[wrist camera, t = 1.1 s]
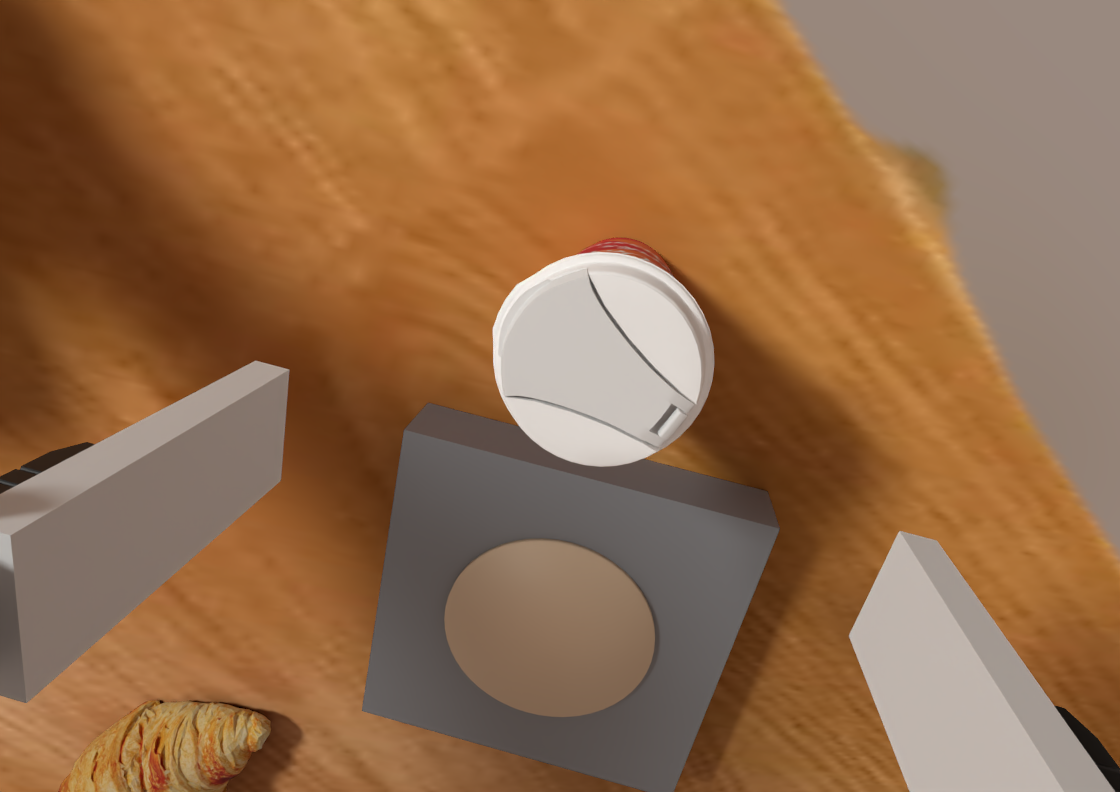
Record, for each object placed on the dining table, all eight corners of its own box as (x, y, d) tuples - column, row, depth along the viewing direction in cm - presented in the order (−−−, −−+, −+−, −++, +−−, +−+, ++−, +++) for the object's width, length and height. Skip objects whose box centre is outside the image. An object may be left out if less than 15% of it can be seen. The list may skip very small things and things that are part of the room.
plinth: (385, 665, 46) (359, 715, 42) (427, 402, 39) (401, 432, 35) (669, 745, 45) (671, 804, 41) (767, 491, 38) (781, 532, 34)
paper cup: (724, 273, 34) (768, 350, 21) (635, 387, 37) (625, 519, 24) (598, 182, 33) (563, 205, 20) (517, 306, 36) (440, 396, 23)
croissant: (278, 644, 52) (190, 675, 44) (319, 778, 49) (233, 835, 42) (92, 732, 57) (-15, 772, 50) (121, 856, 55) (13, 918, 47)
